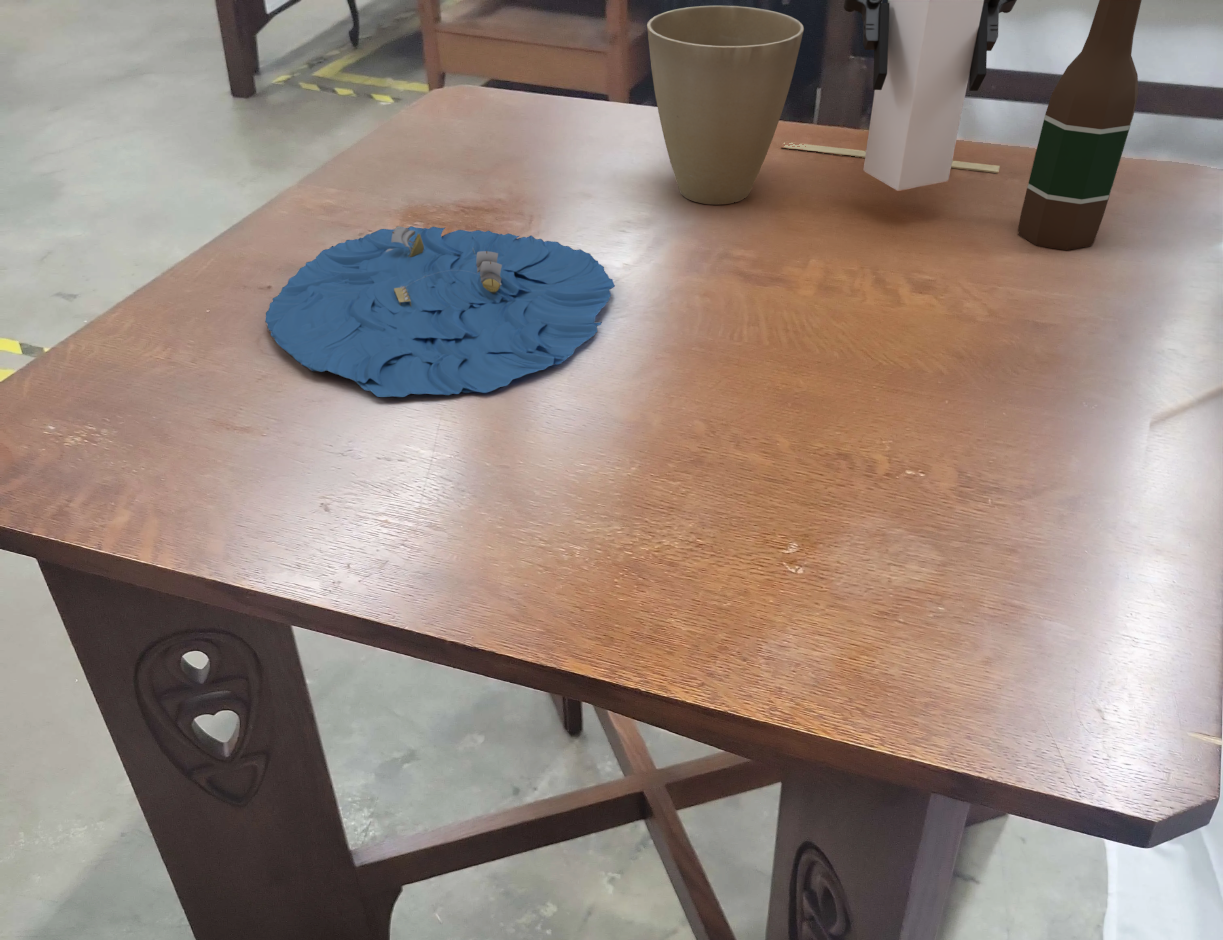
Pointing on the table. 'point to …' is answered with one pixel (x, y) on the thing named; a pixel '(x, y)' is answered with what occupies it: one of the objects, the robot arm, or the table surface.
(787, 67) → the plant pot
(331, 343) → the blue crumpled disc
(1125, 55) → the beer bottle
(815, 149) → the chopstick
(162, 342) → the table surface
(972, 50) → the milk
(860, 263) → the table surface
